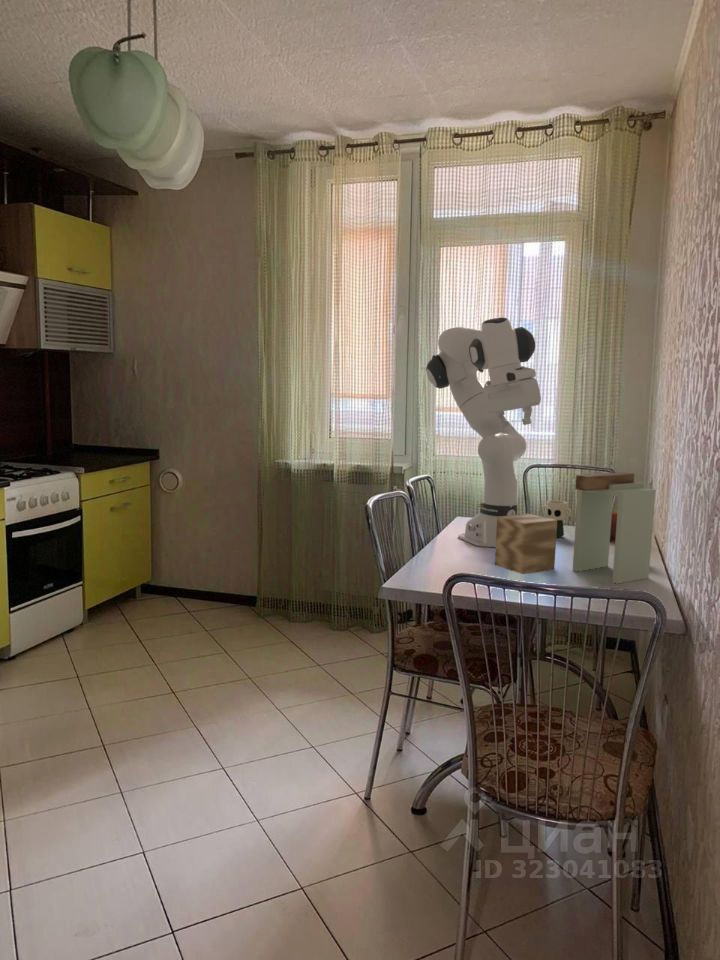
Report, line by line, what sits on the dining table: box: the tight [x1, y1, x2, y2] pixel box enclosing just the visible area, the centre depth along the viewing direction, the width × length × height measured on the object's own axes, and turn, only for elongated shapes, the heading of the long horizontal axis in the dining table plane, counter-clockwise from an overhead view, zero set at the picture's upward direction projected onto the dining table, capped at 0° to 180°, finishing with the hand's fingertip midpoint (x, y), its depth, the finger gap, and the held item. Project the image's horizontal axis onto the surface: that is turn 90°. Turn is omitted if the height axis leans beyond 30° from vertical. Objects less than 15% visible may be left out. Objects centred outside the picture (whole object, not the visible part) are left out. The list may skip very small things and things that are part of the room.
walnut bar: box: [574, 471, 635, 491], centre depth 207 cm, size 4×20×4 cm, turn 122°
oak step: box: [494, 513, 557, 575], centre depth 218 cm, size 12×13×15 cm
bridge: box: [572, 482, 657, 585], centre depth 211 cm, size 16×14×28 cm
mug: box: [610, 509, 618, 541], centre depth 262 cm, size 12×9×10 cm
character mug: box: [541, 499, 572, 538], centre depth 265 cm, size 11×7×13 cm, turn 53°
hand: (516, 425), depth 199 cm, fingers open, 8 cm apart
